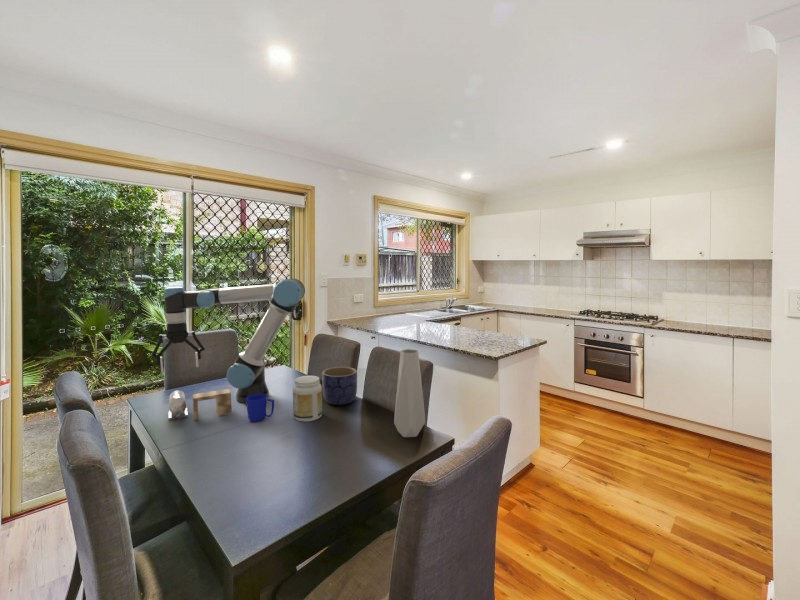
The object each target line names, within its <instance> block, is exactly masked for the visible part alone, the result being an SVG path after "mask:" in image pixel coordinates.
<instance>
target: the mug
mask: <svg viewBox="0 0 800 600" xmlns="http://www.w3.org/2000/svg"><path fill="white" fill-rule="evenodd" d="M267 402H270V403H271V410H270V413H269V415H268V414H267ZM245 404H246V408H247V418H248V421H250V422H252V423H257V422H261V421H264V420H265V418H270V417H272V416H273V414H274V410H275V399H272V398H271V399H270V398H267V395H265V394H253V395H249V396H247V397H246V403H245Z"/></svg>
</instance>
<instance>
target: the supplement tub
mask: <svg viewBox="0 0 800 600" xmlns="http://www.w3.org/2000/svg"><path fill="white" fill-rule="evenodd" d="M292 406H293V407H292V410H293V414H292V415H293V418H294V420H296V422H297V421H298V422H301V423H302V422H303V423H305V422H307V423H308V422H313V421H317V420H318V419H320V418H321V417H322V415H323V387H322V384H321V381H320V377H319V376H316V375H302V376H298V377H296V378H295V379H294V385H293V388H292Z"/></svg>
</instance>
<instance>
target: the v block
mask: <svg viewBox="0 0 800 600" xmlns="http://www.w3.org/2000/svg"><path fill="white" fill-rule="evenodd" d="M188 415H189V414H188V408H187V407H186V409H185V411H184V412H183V413H181V414H179V415H174V414H172V413H171V412H170V410H168V421H173V420H178V419H183V418H189V416H188Z"/></svg>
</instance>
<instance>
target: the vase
mask: <svg viewBox="0 0 800 600" xmlns="http://www.w3.org/2000/svg"><path fill="white" fill-rule="evenodd" d="M398 365H399V366H398V372H397V373H398V374H397V382H396V383H397V384H396V393H395V394H396V395H395V406H394V415H393V416H394V419H393V424H394V425H395V428H396V429H397V432H398V433H399V434H400V435H401V436H402V438H416V437H418V435H419V434H420V432H421V431H422V428H423V427H424V425H425V423H426V412H425V404H424V393H423V384H422V375H421V367H420V366H421V364H420V355H419V350H417V349H410V348H408V349H401V350H400V353H399V363H398Z"/></svg>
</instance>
